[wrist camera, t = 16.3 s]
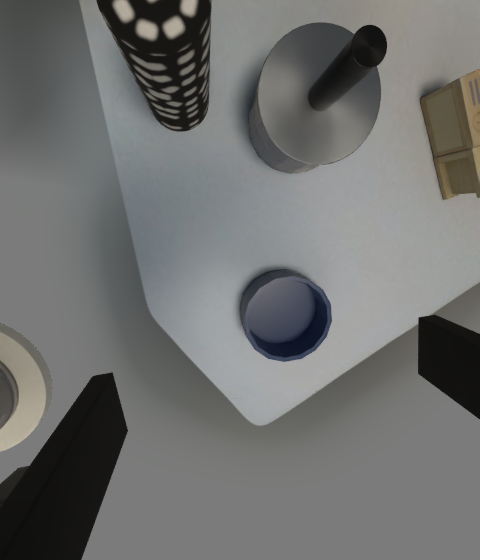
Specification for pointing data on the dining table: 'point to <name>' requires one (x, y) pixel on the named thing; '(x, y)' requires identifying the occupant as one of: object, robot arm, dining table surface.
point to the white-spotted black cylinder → (166, 54)
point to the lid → (321, 91)
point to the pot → (270, 145)
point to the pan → (285, 315)
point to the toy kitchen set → (455, 134)
